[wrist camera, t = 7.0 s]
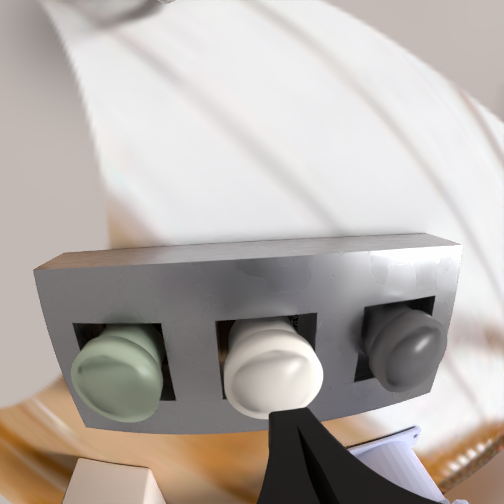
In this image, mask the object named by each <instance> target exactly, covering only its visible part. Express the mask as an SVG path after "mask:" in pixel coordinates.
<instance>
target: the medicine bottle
mask: <svg viewBox="0 0 504 504" xmlns="http://www.w3.org/2000/svg"><path fill="white" fill-rule="evenodd" d="M62 504H166V502H165V500H164V498H163V496H162V494H161V492H160V489H159V487H158V485H157V483H156V481H155V478H154V476H153V474H152V471H151V470H150V469H149V468H143V467H134V466H126V465H119V464H112V463H106V462H100V461H95V460H90V459H85V458H79V459H78V460H77V463H76V466H75V468H74V471H73V473H72V476H71V479H70V482H69V484H68V487H67V490H66V493H65V496H64V498H63V501H62Z"/></svg>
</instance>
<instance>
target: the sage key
mask: <svg viewBox="0 0 504 504" xmlns="http://www.w3.org/2000/svg"><path fill="white" fill-rule="evenodd" d="M164 355H165V344H164V340H163V338H162V336H161V334H160V333H159V331H158V330H157V329H156V328H155V327H154V326H153V325H152V324H151V323H108V324H107V325H106V327H105V328H104V330H103V331H102V333H101V334H100V335H99V337H96V338H94V339H92V340H90V341H89V342H88V343H87V344H86V345H85V346H84V347H83V349H82V350H81V352H80V353H79V354H78V356H77V357H76V359H75V360H74V362H73V364H72V367H71V379H72V383H73V386H74V388H75V390H76V392H77V394H78V395H79V397H80V398H81V399H82V400H83V401H84V403H85V404H87V405H88V406H89V407H90V408H91V409H92V410H94V411H95V412H97V413H98V414H100V415H102V416H104V417H106V418H109V419H112V420H115V421H119V422H138V421H142V420H145V419H147V418H149V417H150V416H151V415H153V413H154V412H155V411H156V409H157V407H158V405H159V400H160V396H161V392H162V387H163V376H162V372H161V366H162V362H163V359H164Z"/></svg>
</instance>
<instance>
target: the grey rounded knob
mask: <svg viewBox="0 0 504 504" xmlns="http://www.w3.org/2000/svg"><path fill="white" fill-rule="evenodd" d="M446 346H447V333H446V330H445V328H444V326H443V325H442V324H441V323H440V322H438V321H437V320H436V319H434V318H433V317H431V316H430V315H429V314H427V313H426V312H424V311H421V310H412V309H410V308H409V307H408V306H406V305H405V304H403V303H402V302H401V301H399V302H393V303H386V304H379V305H372V306H365V307H364V316H363V324H362V332H361V339H360V346H359V348H360V349H361V350H362V351H363V353H364V354H365V355H366V356H367V358H368V359H369V367H370V370H371V372H372V373H373V375H374V376H375V377H376V378H377V380H378V381H379V382H380V384H381V385H382V386H383V387H384V388H385V389H386V390H387V391H390V392H394V393H400V392H405V391H408V390H411V389H413V388H415V387H417V386H418V385H420V384H421V383H423V382H424V381H425V380H426V379H427V378H428V377H429V376H430V375H431V374H432V373H433V372H434V371H435V370H436V368H437V367H438V365H439V364H440V362H441V360H442V358H443V356H444V353H445V350H446Z"/></svg>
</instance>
